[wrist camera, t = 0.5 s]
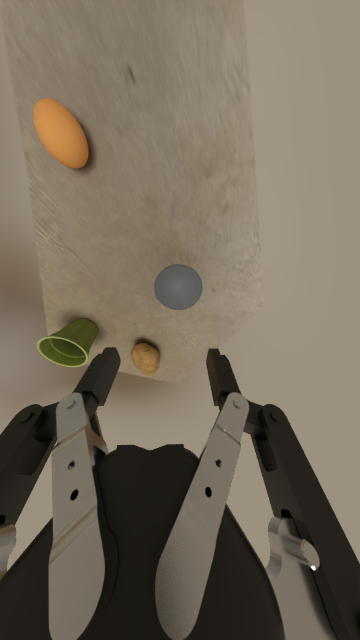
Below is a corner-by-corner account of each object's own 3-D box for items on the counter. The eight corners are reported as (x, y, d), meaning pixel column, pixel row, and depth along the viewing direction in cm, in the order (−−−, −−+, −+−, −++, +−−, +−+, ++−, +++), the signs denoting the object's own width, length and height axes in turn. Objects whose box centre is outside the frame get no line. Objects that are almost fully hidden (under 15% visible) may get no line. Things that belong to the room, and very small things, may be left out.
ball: (46, 117, 20) (5, 84, 15) (85, 114, 20) (56, 80, 15) (68, 174, 24) (40, 162, 19) (101, 172, 24) (81, 159, 19)
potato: (153, 333, 46) (149, 351, 40) (165, 358, 54) (163, 376, 48) (127, 338, 48) (119, 356, 41) (142, 362, 56) (138, 380, 49)
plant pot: (113, 331, 46) (97, 358, 36) (89, 343, 49) (69, 371, 40) (82, 305, 39) (54, 330, 30) (58, 321, 43) (26, 348, 34)
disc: (150, 266, 33) (150, 266, 33) (203, 263, 33) (203, 263, 33) (158, 310, 41) (158, 310, 41) (200, 308, 41) (200, 308, 40)
